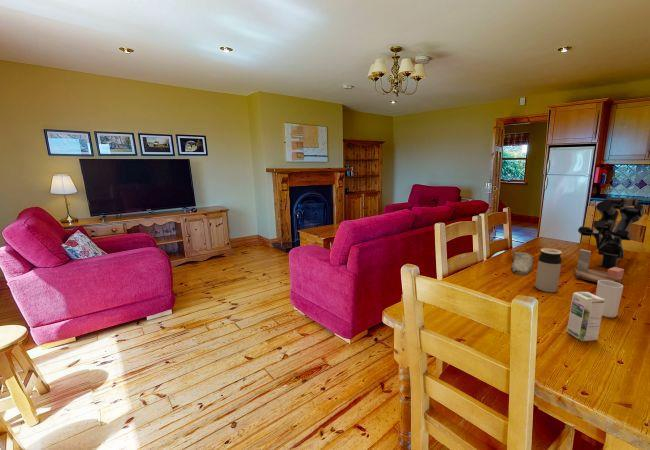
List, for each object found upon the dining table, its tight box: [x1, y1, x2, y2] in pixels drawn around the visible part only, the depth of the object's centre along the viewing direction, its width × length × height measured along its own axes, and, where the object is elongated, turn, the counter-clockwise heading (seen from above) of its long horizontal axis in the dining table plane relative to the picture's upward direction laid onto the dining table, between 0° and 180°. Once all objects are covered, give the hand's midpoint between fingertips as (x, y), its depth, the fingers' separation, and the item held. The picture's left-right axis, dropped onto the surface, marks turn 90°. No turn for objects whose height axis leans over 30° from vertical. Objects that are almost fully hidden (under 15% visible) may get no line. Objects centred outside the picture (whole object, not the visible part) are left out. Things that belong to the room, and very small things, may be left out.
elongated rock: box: [511, 251, 534, 276], centre depth 161 cm, size 35×5×10 cm
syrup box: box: [566, 291, 605, 342], centre depth 94 cm, size 6×6×14 cm
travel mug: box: [534, 247, 563, 293], centre depth 129 cm, size 8×8×18 cm
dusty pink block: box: [607, 267, 625, 280], centre depth 134 cm, size 4×6×4 cm, turn 115°
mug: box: [595, 280, 624, 318], centre depth 109 cm, size 10×7×12 cm, turn 131°
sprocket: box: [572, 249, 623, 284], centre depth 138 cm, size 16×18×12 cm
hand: (598, 248), depth 142 cm, fingers closed
